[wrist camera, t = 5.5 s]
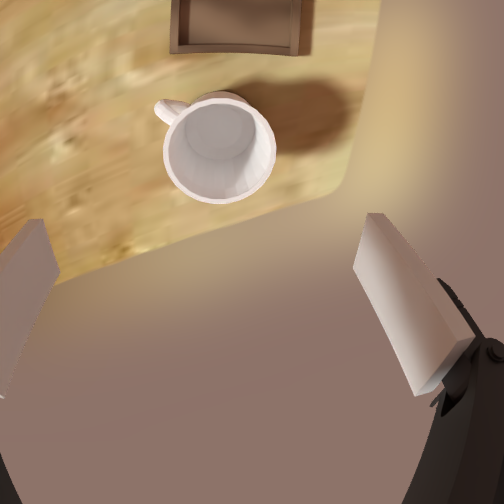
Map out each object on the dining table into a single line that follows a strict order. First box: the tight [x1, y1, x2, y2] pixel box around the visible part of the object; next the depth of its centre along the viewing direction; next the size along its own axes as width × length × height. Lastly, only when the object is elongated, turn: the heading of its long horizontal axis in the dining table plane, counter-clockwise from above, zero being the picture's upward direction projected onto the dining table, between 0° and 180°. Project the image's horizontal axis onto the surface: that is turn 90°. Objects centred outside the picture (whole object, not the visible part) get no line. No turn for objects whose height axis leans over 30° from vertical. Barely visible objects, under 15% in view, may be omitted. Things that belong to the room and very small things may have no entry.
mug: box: [154, 91, 276, 204], centre depth 27 cm, size 11×9×10 cm
